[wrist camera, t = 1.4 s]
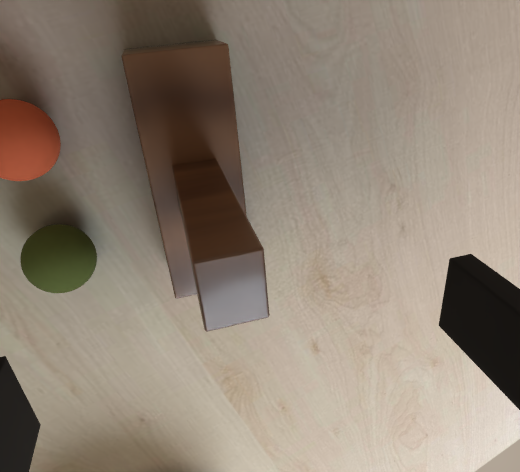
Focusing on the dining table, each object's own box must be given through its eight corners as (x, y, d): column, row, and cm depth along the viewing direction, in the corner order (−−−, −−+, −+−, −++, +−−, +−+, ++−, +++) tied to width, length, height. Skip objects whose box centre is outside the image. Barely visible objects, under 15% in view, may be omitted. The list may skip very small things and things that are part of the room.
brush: (123, 49, 22) (105, 89, 10) (216, 39, 23) (294, 66, 11) (171, 269, 29) (193, 440, 17) (242, 255, 30) (307, 409, 18)
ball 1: (-30, 98, 21) (-63, 114, 18) (52, 88, 22) (36, 102, 19) (0, 171, 23) (-24, 199, 20) (75, 160, 24) (64, 185, 21)
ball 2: (19, 219, 25) (0, 253, 21) (89, 207, 25) (81, 238, 22) (42, 275, 27) (27, 313, 23) (106, 262, 27) (101, 298, 24)
